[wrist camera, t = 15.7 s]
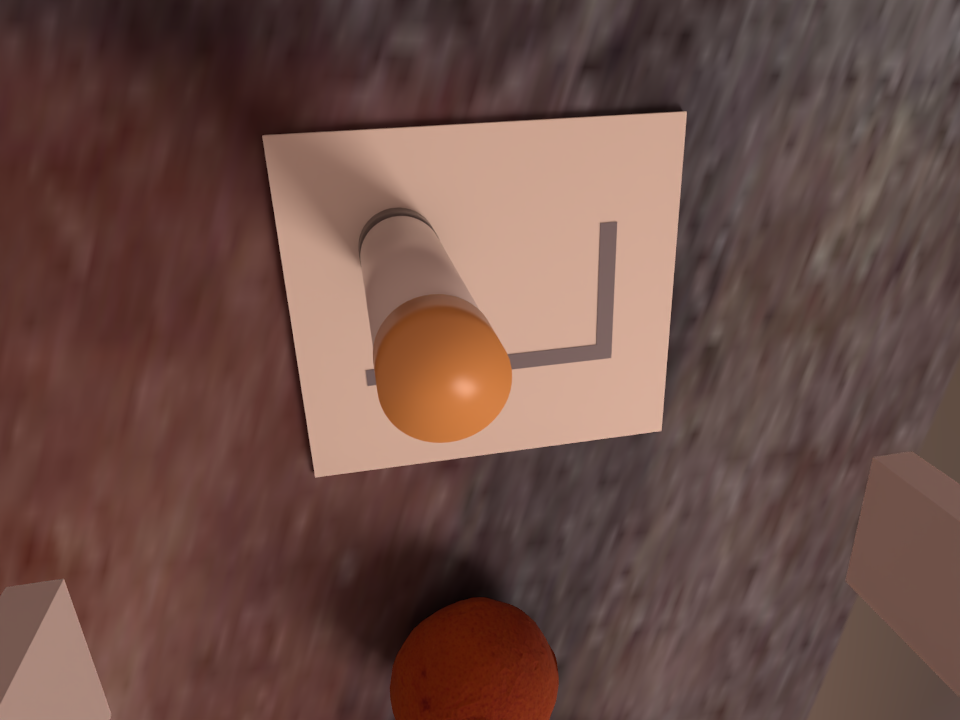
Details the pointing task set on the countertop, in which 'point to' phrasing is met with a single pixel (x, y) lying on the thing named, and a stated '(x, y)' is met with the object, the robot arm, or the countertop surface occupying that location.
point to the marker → (428, 334)
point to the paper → (490, 271)
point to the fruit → (475, 666)
